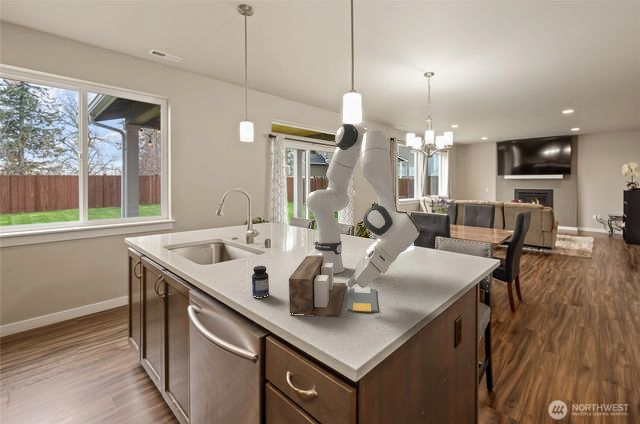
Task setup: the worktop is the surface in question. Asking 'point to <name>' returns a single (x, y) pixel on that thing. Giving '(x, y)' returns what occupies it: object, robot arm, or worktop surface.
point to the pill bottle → (260, 282)
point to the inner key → (328, 273)
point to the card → (362, 300)
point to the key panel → (312, 290)
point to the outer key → (321, 290)
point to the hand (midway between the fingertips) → (349, 284)
